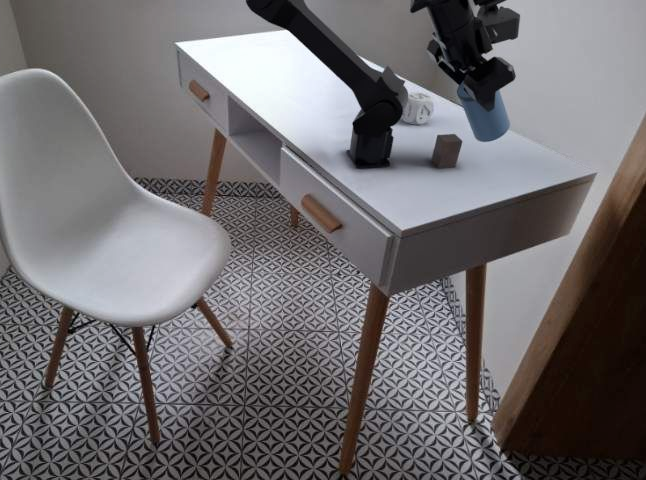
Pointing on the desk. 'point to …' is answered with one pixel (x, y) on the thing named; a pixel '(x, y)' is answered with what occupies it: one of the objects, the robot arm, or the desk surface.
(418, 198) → the desk surface
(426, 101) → the die
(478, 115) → the blue canister
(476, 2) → the robot arm
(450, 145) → the small dark brown block
